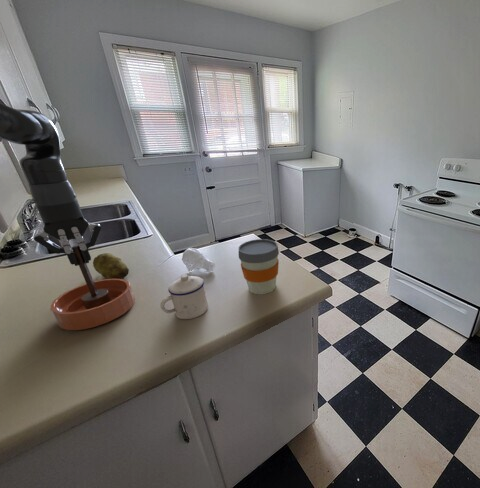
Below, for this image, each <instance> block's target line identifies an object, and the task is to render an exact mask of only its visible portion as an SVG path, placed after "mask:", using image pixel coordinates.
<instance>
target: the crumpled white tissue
mask: <svg viewBox="0 0 480 488" xmlns="http://www.w3.org/2000/svg"><path fill="white" fill-rule="evenodd" d="M181 262H182V263H183V265H184V266H185V267H186V269H187V271H188V272H189V271H192V270H196V269H203V270H204V272H205V273H207V272H208V273H211V272H210V271H212V272H213V271H214V270H215V269H216V263H215V262H214V261H212V260H210V259H208V257H207V256H206V255H204V253H202V252H201V250H198V249H197V248H194V247H188V248H186V249H185V250H184V251H183V253H182V256H181ZM192 272H193V271H192Z"/></svg>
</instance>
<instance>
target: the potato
mask: <svg viewBox="0 0 480 488" xmlns="http://www.w3.org/2000/svg"><path fill="white" fill-rule="evenodd" d="M92 264H93V265H92V266H93V268H94V270H95V271H96V273H98V274H100V275H101V276H102V277H103V278H104V279H124V278H126V277H127V276H128V275H129V273H130V269H129V267H128V266H127V265H126V263H125V262H124V261H123V260H122V259H121V258H120V257H118V256H115V255H114V254H112V253H109V252H108V253H106V252H105V253H100V254H98V255H97V256H95V257H94V259H92Z"/></svg>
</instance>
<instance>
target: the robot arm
mask: <svg viewBox="0 0 480 488" xmlns="http://www.w3.org/2000/svg"><path fill="white" fill-rule="evenodd" d="M0 139H2V140H4V141H7V142H9V143H13V144H17V145H21V146H24V147H25V152H26V153H25V155H24V156H22V157H21V158H20V159H19V166H20V169H21V171H22V173H23V176H24V178H25V181H26V182H27V186H28V188H29V192H30V195H31V197H32V202H33V203H34V204H35V207H36V209H37V212H38V213H39V216H40V218H41V221H42V223H43V228H42V231H41V232H38V233H37V234H34V236H33V241H34V242H36V243H38V244H39V245H41V246H42V247H45V248H46V249H48V250H50V251H51V252H53V253H55V254H57V255H60V254H65V255H66V256H67V259H68V261H69V263H70V264H71V266H72V265H74V266H75V267H79V264H78V262H77V259H76V257H75V254H74V252H73V250H72V246H71V244H70V243H71V242H70V240H76V242H77V244H78V245H79V247H80V249H81V253H82V255H83V258H84V260H85V263H86V264H90V261H92V256H91V253H90V250H89V249H90V248H91V247H95V244H96V243H97V240H98V238H99V234H100V232H101V230H102V227H101V224H100V223H92V222H89V221H88V220H87V218H85V217H84V214H83V211H82V209H81V206H80V203H79V201H78V198H77V195H76V192H75V190H74V188H73V186H72V185H71V182H70V180H69V177H68V175H67V173H66V170H65V167H64V166H63V162H62V150H61V142H60V141H61V140H60V136H59V131H58V129H57V128H56V126H55V125H54V123H53V121H52V120H51V119H50V118H49V117H48V116H47V115H45V114H43V113H42V112H39V111H36V110H33V109H32V110H30V109H17V108H14V107H11V106H9V105H6V104H4V103H2V102H0ZM88 228H89V231H90V235H89V239H88V241H85V239H84V235H85V233H86V231H87V230H88ZM49 236H51V237H53V238H55V239H56V240H58V241H60V243H61V245H62V246H60V245H58V244H56V243H55V242H53V241H52V240H50V237H49Z"/></svg>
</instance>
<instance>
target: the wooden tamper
mask: <svg viewBox="0 0 480 488" xmlns="http://www.w3.org/2000/svg"><path fill="white" fill-rule="evenodd" d="M71 249H72V251H73V252H74V254H75V257H76V259H77V262H78V264H79V265H78V267H79V269H80V271H81V274H82V277H83V278H84V282H85V284H87V286H88V288H89V291H90V292H88V293H86V294H85V295H84V296H82V298H81V299H82V302H83V304H84V306H85V308H86V309H91V308H94V307H98V306H101V305H103V304H105V303H108V302H110V301H111V297H110V295H109V292H108V290H107V289H98V290H97V289H96V286H95V284H94V281H95V280H94V279H93V277H92V275H91V272H90V270H89V266H88V263H85V260H84V258H83V255H82V253H81V248H80V246H79V244H78V245H73V246H71Z"/></svg>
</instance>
